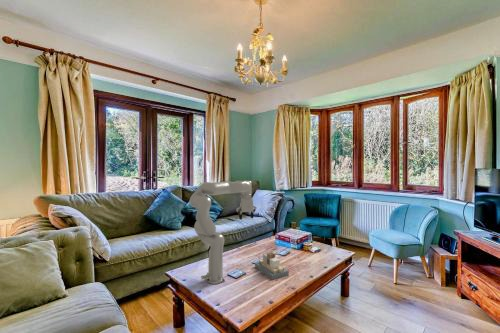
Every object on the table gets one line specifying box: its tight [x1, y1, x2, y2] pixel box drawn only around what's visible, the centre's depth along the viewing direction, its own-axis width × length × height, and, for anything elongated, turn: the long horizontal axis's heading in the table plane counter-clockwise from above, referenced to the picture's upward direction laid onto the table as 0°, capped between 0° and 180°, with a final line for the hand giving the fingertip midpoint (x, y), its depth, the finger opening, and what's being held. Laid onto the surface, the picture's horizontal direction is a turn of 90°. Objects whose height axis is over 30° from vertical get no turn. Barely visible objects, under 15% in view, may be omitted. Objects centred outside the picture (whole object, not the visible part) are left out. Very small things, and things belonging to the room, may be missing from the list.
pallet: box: [258, 251, 285, 274], centre depth 166 cm, size 8×20×10 cm, turn 30°
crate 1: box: [262, 252, 268, 263], centre depth 170 cm, size 5×5×5 cm
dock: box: [255, 261, 290, 280], centre depth 166 cm, size 14×22×4 cm, turn 30°
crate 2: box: [270, 256, 281, 268], centre depth 162 cm, size 5×5×5 cm
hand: (246, 218), depth 178 cm, fingers open, 9 cm apart
